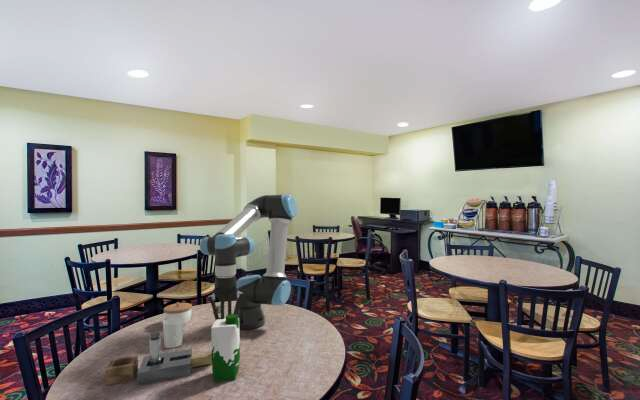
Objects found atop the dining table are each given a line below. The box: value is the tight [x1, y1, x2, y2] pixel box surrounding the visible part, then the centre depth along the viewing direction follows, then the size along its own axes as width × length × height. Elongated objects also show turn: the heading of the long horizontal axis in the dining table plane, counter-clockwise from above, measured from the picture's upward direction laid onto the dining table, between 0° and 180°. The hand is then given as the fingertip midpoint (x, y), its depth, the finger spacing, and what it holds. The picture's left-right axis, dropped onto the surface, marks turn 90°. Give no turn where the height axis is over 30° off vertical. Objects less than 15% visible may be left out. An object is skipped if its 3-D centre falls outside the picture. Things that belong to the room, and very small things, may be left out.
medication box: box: [217, 301, 226, 314], centre depth 176 cm, size 12×3×4 cm, turn 11°
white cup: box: [162, 318, 184, 349], centre depth 133 cm, size 8×8×10 cm
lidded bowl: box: [163, 301, 193, 327], centre depth 155 cm, size 13×13×11 cm
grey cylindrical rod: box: [148, 331, 162, 366], centre depth 110 cm, size 4×4×14 cm
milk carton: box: [210, 313, 241, 382], centre depth 108 cm, size 9×9×20 cm
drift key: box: [188, 350, 212, 368], centre depth 115 cm, size 8×2×4 cm, turn 110°
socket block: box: [136, 348, 193, 386], centre depth 111 cm, size 16×12×4 cm
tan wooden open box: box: [104, 354, 139, 386], centre depth 109 cm, size 8×8×5 cm
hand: (226, 339), depth 118 cm, fingers closed
